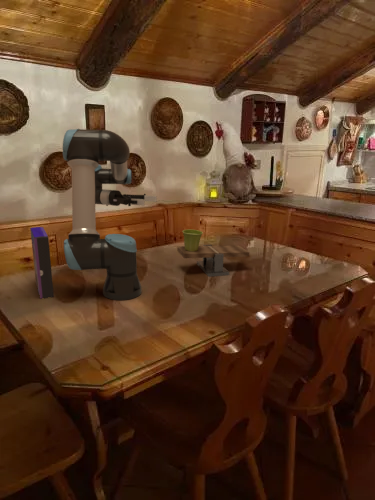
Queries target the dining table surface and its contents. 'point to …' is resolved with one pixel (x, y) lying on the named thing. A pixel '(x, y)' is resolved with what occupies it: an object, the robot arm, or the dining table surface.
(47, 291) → the cereal box
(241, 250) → the balance beam
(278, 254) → the dining table surface
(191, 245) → the plant pot
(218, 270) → the beam stand
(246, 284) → the dining table surface
